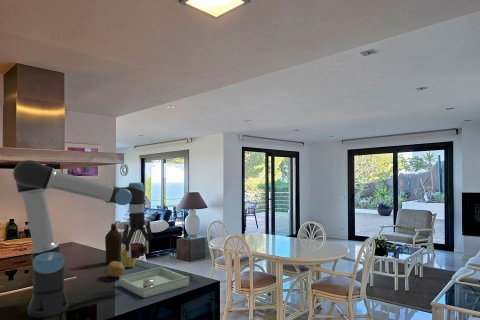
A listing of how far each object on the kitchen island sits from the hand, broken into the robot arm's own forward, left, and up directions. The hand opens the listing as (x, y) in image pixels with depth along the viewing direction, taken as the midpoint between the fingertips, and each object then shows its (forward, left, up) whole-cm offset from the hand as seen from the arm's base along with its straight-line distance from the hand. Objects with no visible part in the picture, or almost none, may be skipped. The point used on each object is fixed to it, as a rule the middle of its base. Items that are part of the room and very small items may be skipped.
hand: (137, 255), depth 175 cm
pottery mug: (0, 0, -2) cm, 3 cm away
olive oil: (+13, +58, -17) cm, 62 cm away
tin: (-1, -13, -16) cm, 21 cm away
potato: (0, +25, -17) cm, 30 cm away
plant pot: (+15, +40, -17) cm, 46 cm away
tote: (+7, -4, -17) cm, 19 cm away
